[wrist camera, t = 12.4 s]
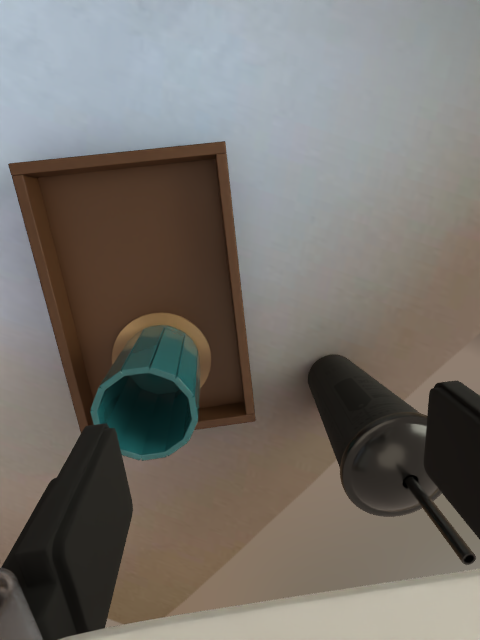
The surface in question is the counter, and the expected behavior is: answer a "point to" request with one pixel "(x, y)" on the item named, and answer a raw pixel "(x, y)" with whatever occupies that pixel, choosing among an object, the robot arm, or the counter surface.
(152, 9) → the counter surface
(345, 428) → the drinking cup
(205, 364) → the coaster
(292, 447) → the counter surface
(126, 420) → the cup
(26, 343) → the counter surface
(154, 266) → the tray
